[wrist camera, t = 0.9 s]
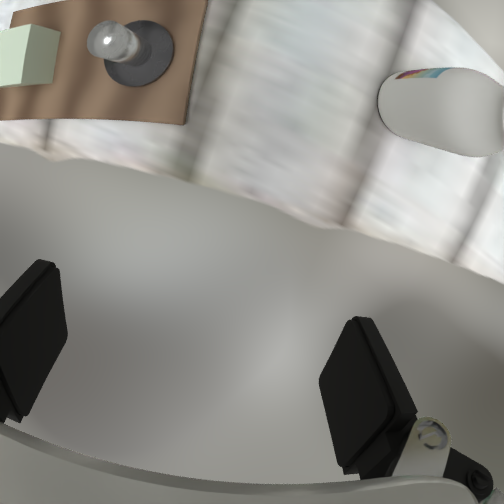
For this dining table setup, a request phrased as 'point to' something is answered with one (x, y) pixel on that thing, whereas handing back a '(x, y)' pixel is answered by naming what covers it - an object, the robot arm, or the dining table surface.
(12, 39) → the pale green cube
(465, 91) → the milk bottle
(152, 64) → the board
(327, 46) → the dining table surface
